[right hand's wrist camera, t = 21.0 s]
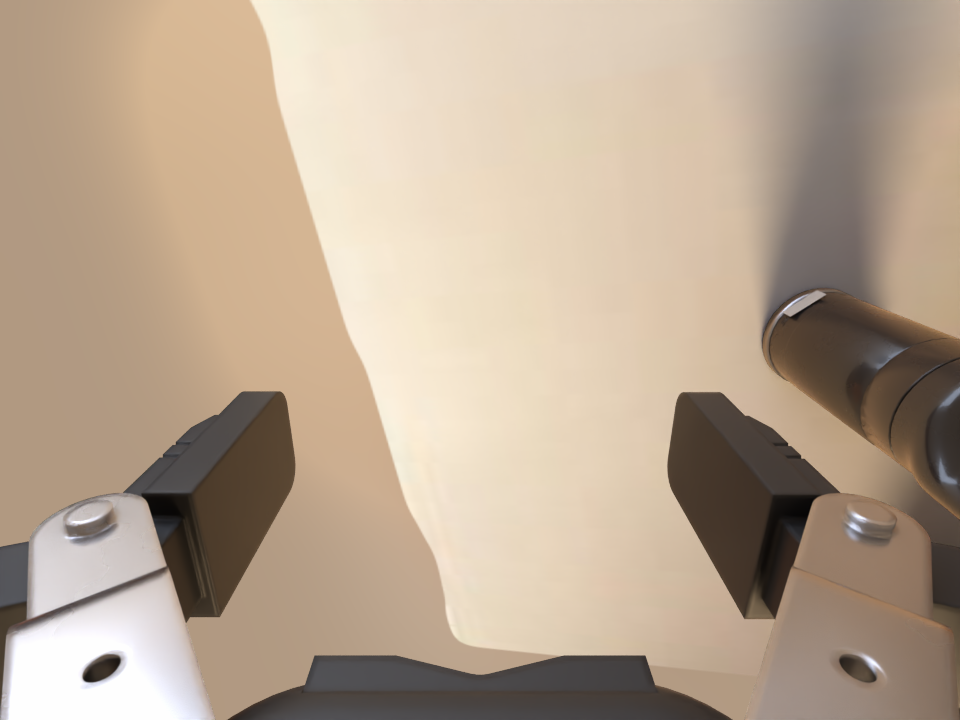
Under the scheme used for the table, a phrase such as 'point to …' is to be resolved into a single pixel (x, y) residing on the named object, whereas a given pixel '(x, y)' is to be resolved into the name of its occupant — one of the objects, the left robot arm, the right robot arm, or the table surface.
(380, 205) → the table surface
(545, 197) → the table surface
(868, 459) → the table surface
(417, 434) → the table surface
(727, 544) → the right robot arm
